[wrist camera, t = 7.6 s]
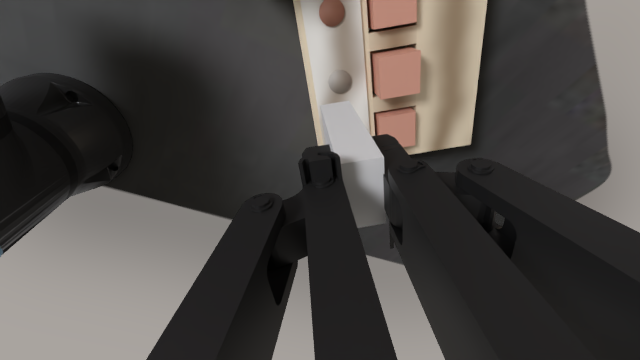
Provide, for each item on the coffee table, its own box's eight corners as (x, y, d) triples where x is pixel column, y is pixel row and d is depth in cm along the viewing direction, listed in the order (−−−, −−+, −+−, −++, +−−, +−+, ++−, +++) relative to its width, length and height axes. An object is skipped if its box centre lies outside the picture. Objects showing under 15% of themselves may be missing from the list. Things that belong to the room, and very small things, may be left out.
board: (320, 156, 43) (322, 170, 39) (289, -25, 32) (288, -29, 28) (456, 133, 43) (472, 145, 39) (473, -58, 32) (498, -68, 28)
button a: (374, 139, 41) (380, 150, 38) (372, 108, 39) (379, 118, 35) (406, 134, 41) (415, 145, 38) (405, 103, 39) (415, 111, 35)
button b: (373, 91, 36) (380, 99, 33) (371, 53, 34) (378, 58, 31) (409, 85, 36) (420, 93, 33) (409, 46, 34) (420, 50, 31)
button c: (367, 27, 34) (374, 29, 31) (364, -19, 32) (371, -22, 28) (405, 20, 34) (416, 22, 30) (405, -26, 31) (417, -30, 28)
